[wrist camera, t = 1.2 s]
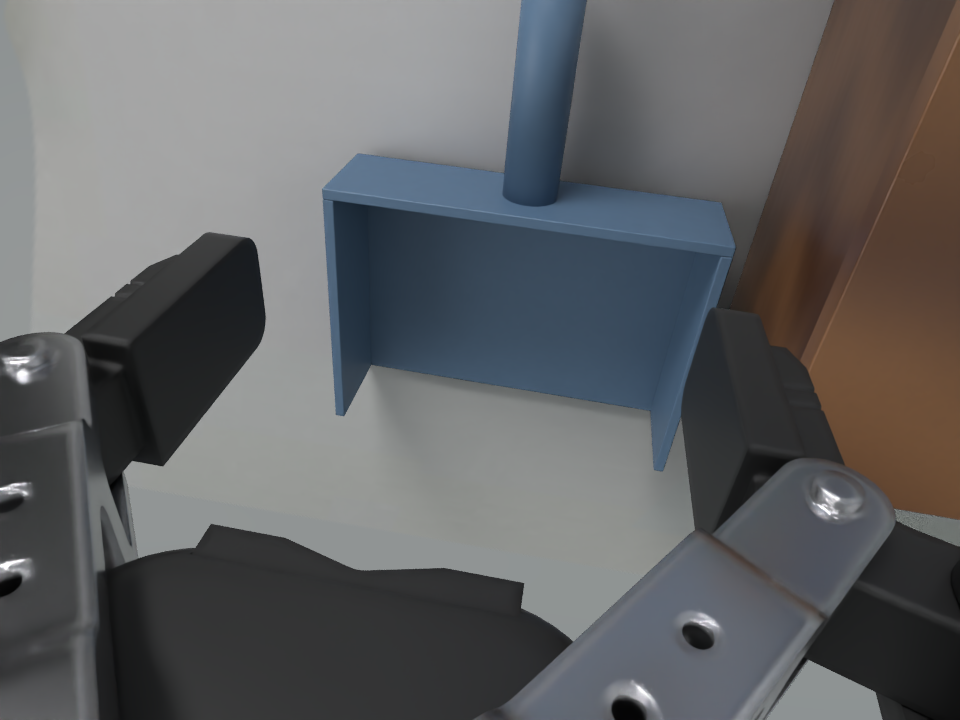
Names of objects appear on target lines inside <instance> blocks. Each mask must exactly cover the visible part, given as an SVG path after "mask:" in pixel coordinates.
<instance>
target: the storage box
mask: <svg viewBox="0 0 960 720" xmlns="http://www.w3.org/2000/svg"><path fill="white" fill-rule="evenodd" d="M729 310H735V311H742V312H749V313H755V314H759V316H760V318H761V320H762V323H763V326H764V329H765V332H766V335H767V338H768V341H769V344H770V345H771V346H778V347H785V348H787V349H788V350H789V351H790V352H791V353H792V354H793V355H794V356H795V357H796V358H797V359H798V360H799V361H800V362H801V363H802V364H803V365H804V366H805V367H806V368H807V370H808V373H809V375H810V378H811V380H812V383H813V385H814V388H815V390H814V393H817V396H818V398H819V401H820V403H821V406H822V407H821V410H822V411H824V413H825V416H826V418H827V421H828V423H829V426H830V428H831V431H832V433H833V436H834V438H835V441H836V443H837V446H838V448H839V451H840V453H841V456H842V458H843V461H844V463H845V466H847V467H849V468H851V469H853V470H855V471H857V472H859V473H860V474H862V475H864V476H865V477H867V478H868V479H869V480H871V481H872V482H873V483H875V484H876V485H877V486H878V487H879V488H880V489H881V490H882V491H883V492H884V493H885V495H886V496H887V497H888V499H889V500H890V502H891V503H892V505H893V508H894V509H899V510H905V511H911V512H917V513H923V514H928V515H934V516H940V517H946V518H952V519H957V520H960V0H835V1H834V4H833V7H832V10H831V13H830V16H829V19H828V21H827V24H826V27H825V30H824V33H823V36H822V39H821V42H820V45H819V48H818V51H817V54H816V57H815V60H814V63H813V65H812V68H811V71H810V74H809V77H808V80H807V83H806V86H805V89H804V92H803V95H802V98H801V101H800V104H799V107H798V109H797V112H796V115H795V118H794V121H793V124H792V127H791V130H790V133H789V136H788V139H787V142H786V145H785V148H784V151H783V154H782V156H781V159H780V162H779V165H778V168H777V171H776V174H775V177H774V180H773V183H772V186H771V189H770V192H769V195H768V198H767V200H766V203H765V206H764V209H763V212H762V215H761V218H760V221H759V224H758V227H757V230H756V233H755V236H754V239H753V242H752V244H751V247H750V250H749V253H748V256H747V259H746V262H745V265H744V268H743V271H742V274H741V277H740V280H739V283H738V286H737V289H736V291H735V294H734V297H733V300H732V303H731V306H730V309H729Z"/></svg>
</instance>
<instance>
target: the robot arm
mask: <svg viewBox="0 0 960 720" xmlns="http://www.w3.org/2000/svg"><path fill="white" fill-rule="evenodd" d="M265 319H266V316H265V307H264V299H263V291H262V283H261V275H260V268H259V260H258V253H257V248H256V245H255V243H254V242H253V240H251V239H250V238H245V237H238V236H231V235H225V234H218V233H211V232H208V233H205V234H204V235H202V236H201V237H200V238H199V239H198V240H196V241H195V242H194V243H193V244H192V245H190V246H189V247H188V248H187V249H186V250H184V251H183V252H182V253H181V254H179V255H175V256H172V257H170V258H167V259H165V260H163V261H160V262H158V263H155V264H153V265H151V266H149V267H147V268H146V269H145V270H144V271H142V272H141V273H140V274H139V275H137V276H136V277H135V278H134V279H132V280H131V283H130V284H126V285H125V286H124V287H122V288H121V289H120V290H119V291H117V292H116V293H115V297H112V296H111V297H110V298H109V299H107V300H106V301H105V302H104V303H102V304H101V305H100V306H99V307H97V308H96V309H95V310H93V311H92V312H91V313H90V314H88V315H87V316H86V317H85V318H83V319H82V320H81V321H80V322H78V323H77V324H76V325H75V326H73V327H72V328H71V329H70V330H68V331H67V332H66V333H65V334H62V333H53V332H43V333H32V334H26V335H21V336H17V337H14V338H10V339H8V340H5V341H2V342H0V720H766V719H767V718H768V716H769V715H770V714H771V712H772V711H773V710H774V708H775V707H776V705H777V704H778V703H779V701H780V700H781V698H782V697H783V696H784V694H785V693H786V691H787V690H788V689H789V687H790V686H791V684H792V683H793V682H794V680H795V679H796V677H797V676H798V674H799V673H800V672H801V670H802V669H803V667H804V666H805V665H806V663H807V662H808V660H810V661H812V662H814V663H817V664H819V665H821V666H823V667H825V668H827V669H829V670H831V671H833V672H835V673H837V674H840V675H842V676H844V677H846V678H848V679H850V680H852V681H854V682H856V683H858V684H861V685H863V686H865V687H867V688H869V689H871V690H873V691H875V692H876V695H877V699H878V703H879V707H880V711H881V715H882V719H883V720H960V547H958V546H955V545H953V544H950V543H948V542H945V541H943V540H940V539H937V538H935V537H932V536H930V535H927V534H925V533H922V532H920V531H917V530H915V529H912V528H910V527H908V526H905V525H903V524H901V523H900V522H898V521H896V515H895V510H894V508H893V505H892V503H891V502H890V500H889V499H888V497H887V496H886V495H885V493H884V492H883V491H882V490H881V489H880V488H879V487H878V486H877V485H876V484H875V483H873V482H872V481H871V480H869V479H868V478H867V477H865V476H864V475H862V474H860V473H859V472H857V471H855V470H853V469H851V468H849V467H847V466H845V463H844V461H843V458H842V456H841V453H840V451H839V448H838V446H837V443H836V441H835V438H834V436H833V433H832V431H831V428H830V426H829V423H828V421H827V418H826V416H825V413H824V411H822V410H821V407H822V406H821V403H820V401H819V398H818V396H817V393H814V390H815V388H814V385H813V383H812V380H811V378H810V375H809V373H808V370H807V368H806V367H805V366H804V365H803V364H802V363H801V362H800V361H799V360H798V359H797V358H796V357H795V356H794V355H793V354H792V353H791V352H790V351H789V350H788V349H787V348H785V347H778V346H771V345H770V344H769V341H768V338H767V335H766V332H765V329H764V326H763V323H762V320H761V318H760V316H759V314H755V313H749V312H742V311H735V310H728V309H721V308H715V307H713V308H711V309H710V311H709V312H708V314H707V317H706V319H705V322H704V325H703V328H702V332H701V335H700V338H699V341H698V344H697V347H696V351H695V354H694V357H693V360H692V363H691V366H690V370H689V373H688V376H687V379H686V382H685V386H684V391H683V397H682V406H681V417H682V426H683V434H684V442H685V451H686V459H687V467H688V475H689V484H690V492H691V500H692V508H693V516H694V525H695V530H694V531H693V532H692V533H690V534H689V535H688V536H687V537H686V538H685V539H684V540H682V541H681V542H680V543H679V544H678V545H677V546H676V547H675V548H674V549H673V550H672V551H671V552H670V553H668V554H667V555H666V556H665V557H664V558H663V559H662V560H661V561H660V562H659V563H658V564H657V565H656V566H654V567H653V568H652V569H651V570H650V571H649V572H648V573H647V574H646V575H645V576H644V577H643V578H642V579H640V581H638V582H637V583H636V584H635V585H634V586H633V587H632V588H631V589H630V590H629V591H628V592H626V593H625V594H624V595H623V596H622V597H621V598H620V599H619V600H618V601H617V602H616V603H615V604H614V605H613V606H611V607H610V608H609V609H608V610H607V611H606V612H605V613H604V614H603V615H602V616H601V617H600V618H599V619H597V620H596V621H595V622H594V623H593V624H592V625H591V626H590V627H589V628H588V629H587V630H586V631H584V632H583V633H582V634H581V635H580V636H579V637H578V638H577V639H576V640H575V641H574V642H573V641H572V640H571V639H570V638H569V637H567V636H566V635H565V634H563V633H562V632H561V631H560V630H558V629H557V628H556V627H554V626H553V625H551V624H550V623H548V622H546V621H544V620H543V619H541V618H540V617H538V616H536V615H534V614H532V613H530V612H528V611H526V610H523V609H521V603H522V595H523V588H524V583H521V582H515V581H509V580H505V579H499V578H494V577H488V576H483V575H478V574H473V573H468V572H462V571H457V570H452V569H446V568H433V569H402V570H371V571H364V570H363V571H361V570H356V569H353V568H350V567H348V566H345V565H343V564H341V563H339V562H337V561H334V560H332V559H330V558H328V557H326V556H323V555H321V554H319V553H317V552H315V551H312V550H310V549H308V548H306V547H304V546H302V545H299V544H297V543H295V542H293V541H291V540H289V539H286V538H282V537H277V536H272V535H267V534H261V533H256V532H251V531H245V530H240V529H235V528H229V527H224V526H219V525H214V524H211V525H210V526H209V528H208V529H207V531H206V532H205V534H204V536H203V537H202V539H201V540H200V542H199V543H198V545H197V546H196V548H187V549H179V550H172V551H165V552H161V553H157V554H152V555H148V556H145V557H142V558H139V559H138V552H137V545H136V538H135V531H134V524H133V518H132V511H131V504H130V497H129V490H128V484H127V481H126V477H125V474H124V470H125V469H126V467H127V466H128V465H129V464H130V463H131V461H136V462H142V463H147V464H153V465H158V466H164V465H165V463H166V462H167V461H168V460H169V458H170V457H171V456H172V455H173V453H174V452H175V451H176V450H177V448H178V447H179V446H180V445H181V443H182V442H183V441H184V439H185V438H186V437H187V436H188V434H189V433H190V432H191V431H192V429H193V428H194V427H195V426H196V424H197V423H198V422H199V421H200V419H201V418H202V417H203V415H204V414H205V413H206V412H207V410H208V409H209V408H210V407H211V405H212V404H213V403H214V402H215V400H216V399H217V398H218V397H219V395H220V394H221V393H222V391H223V390H224V389H225V388H226V386H227V385H228V384H229V383H230V381H231V380H232V379H233V378H234V376H235V375H236V374H237V373H238V371H239V370H240V369H241V368H242V366H243V365H244V364H245V362H246V361H247V360H248V359H249V357H250V356H251V355H252V354H253V352H254V351H255V350H256V349H257V347H258V346H259V344H260V342H261V340H262V337H263V333H264V329H265Z"/></svg>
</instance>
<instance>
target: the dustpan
mask: <svg viewBox="0 0 960 720" xmlns="http://www.w3.org/2000/svg"><path fill="white" fill-rule="evenodd" d="M586 2H587V0H522V2H521V12H520V22H519V32H518V41H517V51H516V61H515V71H514V81H513V91H512V101H511V111H510V121H509V131H508V141H507V151H506V161H505V171H504V173H499V172H491V171H484V170H476V169H469V168H462V167H454V166H447V165H439V164H432V163H425V162H417V161H410V160H403V159H395V158H388V157H380V156H373V155H366V154H357V155H356V156H355V157H354V158H353V159H352V160H351V161H350V162H349V163H348V164H347V165H346V166H345V167H344V168H343V169H342V170H341V171H340V172H339V173H338V174H337V175H336V176H335V177H334V178H333V179H332V180H331V181H330V182H329V183H328V184H327V185H326V186H325V187H324V188H323V189H322V194H323V211H324V227H325V243H326V260H327V276H328V292H329V309H330V325H331V341H332V358H333V374H334V391H335V407H336V415H340V416H345V414H346V412H347V410H348V408H349V406H350V404H351V402H352V400H353V398H354V397H355V395H356V393H357V391H358V389H359V387H360V385H361V383H362V381H363V379H364V378H365V376H366V374H367V372H368V370H369V368H370V366H371V365H376V366H382V367H388V368H394V369H401V370H407V371H413V372H419V373H425V374H431V375H437V376H443V377H449V378H455V379H461V380H467V381H473V382H479V383H485V384H491V385H497V386H503V387H510V388H516V389H522V390H528V391H534V392H540V393H546V394H552V395H558V396H564V397H570V398H576V399H582V400H588V401H594V402H600V403H606V404H612V405H619V406H625V407H631V408H637V409H643V410H649V411H650V413H651V430H652V447H653V463H654V470H657V471H663V470H664V467H665V464H666V461H667V458H668V455H669V452H670V449H671V446H672V443H673V439H674V436H675V433H676V430H677V427H678V424H679V421H680V418H681V406H682V397H683V391H684V386H685V382H686V379H687V376H688V373H689V370H690V366H691V363H692V360H693V357H694V354H695V351H696V347H697V344H698V341H699V338H700V335H701V332H702V328H703V325H704V322H705V319H706V317H707V314H708V312H709V311H710V309H711V308H713V307H715V308H717V305H718V302H719V299H720V296H721V293H722V290H723V286H724V283H725V280H726V277H727V274H728V271H729V268H730V265H731V262H732V259H733V258H732V257H733V256H734V253H735V250H736V246H735V242H734V239H733V236H732V233H731V230H730V227H729V224H728V221H727V218H726V215H725V212H724V209H723V206H722V203H720V202H713V201H705V200H698V199H691V198H683V197H676V196H668V195H661V194H654V193H646V192H639V191H631V190H624V189H617V188H609V187H602V186H595V185H587V184H580V183H572V182H565V181H560V175H561V168H562V161H563V155H564V148H565V141H566V135H567V128H568V121H569V115H570V108H571V101H572V95H573V88H574V81H575V75H576V68H577V61H578V55H579V48H580V42H581V35H582V28H583V22H584V15H585V8H586Z"/></svg>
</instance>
